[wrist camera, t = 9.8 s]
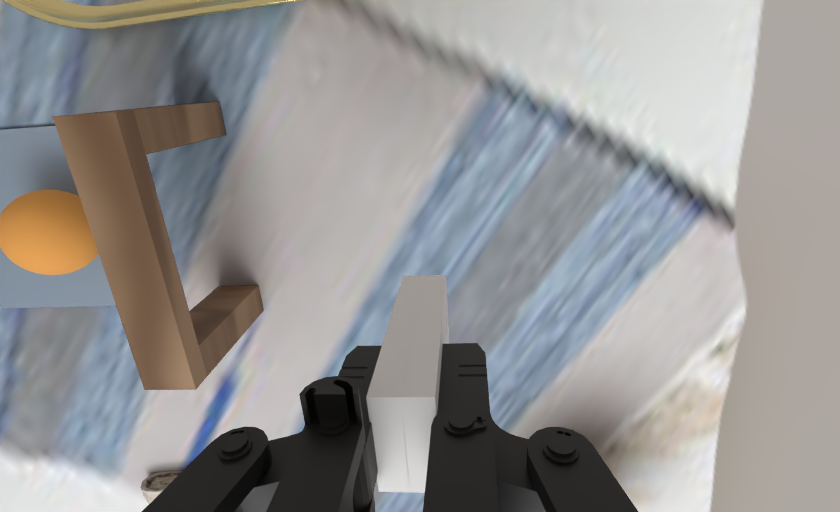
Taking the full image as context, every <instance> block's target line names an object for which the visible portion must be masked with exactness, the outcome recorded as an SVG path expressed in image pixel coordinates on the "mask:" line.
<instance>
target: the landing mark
mask: <svg viewBox="0 0 840 512" xmlns="http://www.w3.org/2000/svg"><path fill="white" fill-rule="evenodd" d="M37 190H61V191H65V192H69V193H72V194H75V195H77V196H79V194H78V191H77V188H76V185H75V182H74V179H73V176H72V173H71V170H70V167H69V164H68V161H67V158H66V155H65V152H64V150H63V147H62V144H61V141H60V138H59V135H58V132H57V129H56V126H45V127H31V128H16V129H2V130H0V214H1V213H2V211H3V210H4V208H5V207H6V206H7V205H8V204H9V203H11V202H12V201H13V200H15V199H16V198H18V197H20V196H21V195H24V194H26V193H29V192H33V191H37ZM86 306H116V304H115V301H114V298H113V295H112V292H111V289H110V286H109V283H108V280H107V277H106V274H105V271H104V268H103V265H102V262H101V259H100V256H99V254H98V256H97V257H96V258H95V259H94V260H93V261H92V262H91V263H89V264H88V265H87V266H85V267H83V268H82V269H79V270H77V271H74V272H71V273H68V274H62V275H43V274H38V273H34V272H30V271H28V270H25V269H23V268H21V267H19V266H18V265H16V264H15V263H13V262H12V261H11V260H10V259H9V258H8V257H7V256H6V255H5V254H4V252H3V251H2V250H1V248H0V308H43V307H86Z"/></svg>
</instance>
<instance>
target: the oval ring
mask: <svg viewBox="0 0 840 512" xmlns="http://www.w3.org/2000/svg"><path fill="white" fill-rule="evenodd" d="M3 1H5V2H6V3H8V4H10V5H11V6H13V7H15V8H16V9H18V10H20V11H22V12H25V13H27V14H29V15H31V16H33V17H36V18H38V19H41V20H43V21H46V22H49V23H53V24H56V25H60V26H64V27H70V28H76V29H87V30H101V29H112V28H119V27H126V26H133V25H140V24H146V23H153V22H160V21H167V20H174V19H181V18H188V17H194V16H201V15H208V14H215V13H222V12H229V11H235V10H242V9H249V8H256V7H263V6H270V5H276V4H283V3H290V2H297V1H304V0H218V1H217V0H145V1H138V2H132V3H125V4H119V5H112V6H86V5H80V4H74V3H70V2H66V1H63V0H3ZM210 1H211V2H210ZM203 2H204V3H203ZM197 3H198V4H197ZM190 4H191V5H190ZM183 5H184V6H183ZM177 6H178V7H177ZM170 7H171V8H170ZM163 8H164V9H163ZM157 9H158V10H157ZM150 10H151V11H150ZM143 11H144V12H143ZM137 12H138V13H137ZM130 13H131V14H130ZM123 14H124V15H123ZM75 15H76V16H75ZM117 15H118V16H117ZM81 16H82V17H81ZM110 16H111V17H110Z"/></svg>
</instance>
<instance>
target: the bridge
mask: <svg viewBox="0 0 840 512" xmlns="http://www.w3.org/2000/svg"><path fill="white" fill-rule="evenodd" d="M53 120H54V123H55V126H56V129H57V132H58V135H59V138H60V141H61V144H62V147H63V150H64V152H65V155H66V158H67V161H68V164H69V167H70V170H71V173H72V176H73V179H74V182H75V185H76V188H77V191H78V194H79V197H80V200H81V203H82V206H83V209H84V212H85V215H86V218H87V221H88V224H89V227H90V230H91V233H92V235H93V238H94V241H95V244H96V247H97V250H98V253H99V256H100V259H101V262H102V265H103V268H104V271H105V274H106V277H107V280H108V283H109V286H110V289H111V292H112V295H113V298H114V301H115V304H116V307H117V310H118V313H119V316H120V318H121V321H122V324H123V327H124V330H125V333H126V336H127V339H128V342H129V345H130V348H131V351H132V354H133V357H134V360H135V363H136V366H137V369H138V372H139V375H140V378H141V381H142V384H143V387H144V390H196V389H197V387H198V386H199V385H200V384H201V383H202V382H203V380H204V379H205V378H206V377H207V376H208V375H209V373H210V372H211V371H212V370H213V369H214V368H215V366H216V365H217V364H218V363H219V362H220V361H221V359H222V358H223V357H224V356H225V355H226V354H227V352H228V351H229V350H230V349H231V348H232V347H233V345H234V344H235V343H236V342H237V341H238V340H239V338H240V337H241V336H242V335H243V334H244V333H245V331H246V330H247V329H248V328H249V327H250V326H251V324H252V323H253V322H254V321H255V320H256V319H257V317H258V316H259V315H260V314H261V313H262V312H263V305H262V301H261V296H260V291H259V287H258V285H257V286H220V287H217V288H216V289H215V290H214V291H213V292H212V293H210V294H209V295H208V296H207V297H206V298H205V299H203V300H202V301H201V302H200V303H199V304H197V305H196V306H195V307H194V308H193V309H192V310H190V311H189V309H188V305H187V302H186V298H185V295H184V291H183V287H182V284H181V280H180V276H179V273H178V269H177V266H176V262H175V258H174V255H173V251H172V247H171V244H170V240H169V237H168V233H167V229H166V226H165V222H164V218H163V215H162V211H161V208H160V204H159V200H158V197H157V193H156V190H155V186H154V182H153V179H152V175H151V171H150V168H149V164H148V161H147V157H146V154H149V153H153V152H158V151H162V150H166V149H170V148H174V147H178V146H182V145H186V144H191V143H195V142H199V141H203V140H207V139H211V138H215V137H219V136H223V135H226V131H225V126H224V121H223V117H222V112H221V107H220V103H219V102H208V103H194V104H180V105H168V106H158V107H147V108H137V109H126V110H116V111H105V112H95V113H84V114H74V115H64V116H53Z"/></svg>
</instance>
